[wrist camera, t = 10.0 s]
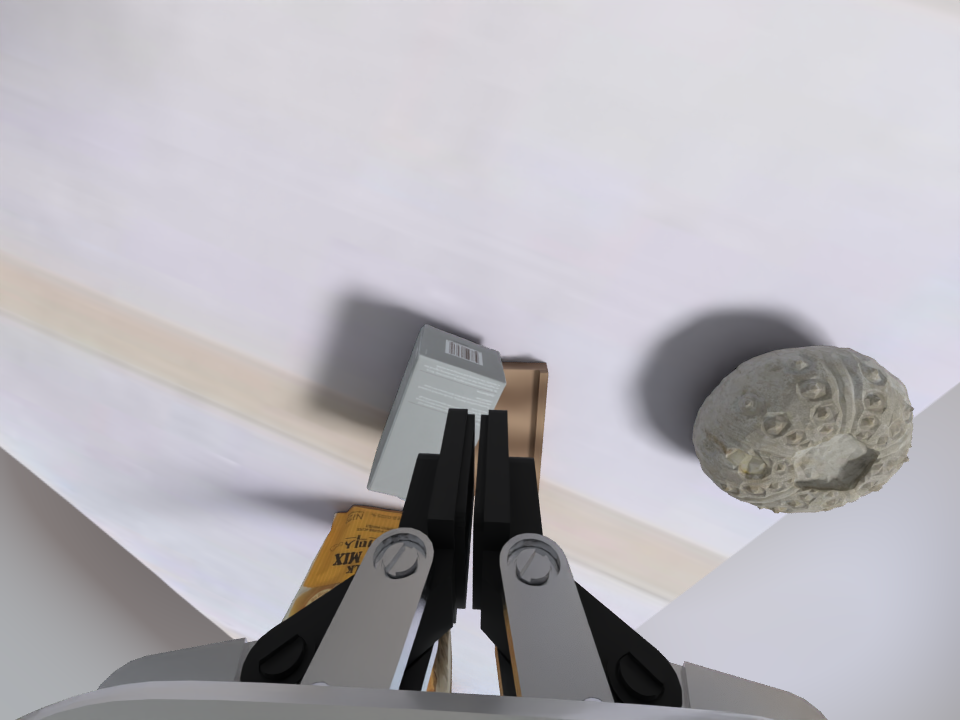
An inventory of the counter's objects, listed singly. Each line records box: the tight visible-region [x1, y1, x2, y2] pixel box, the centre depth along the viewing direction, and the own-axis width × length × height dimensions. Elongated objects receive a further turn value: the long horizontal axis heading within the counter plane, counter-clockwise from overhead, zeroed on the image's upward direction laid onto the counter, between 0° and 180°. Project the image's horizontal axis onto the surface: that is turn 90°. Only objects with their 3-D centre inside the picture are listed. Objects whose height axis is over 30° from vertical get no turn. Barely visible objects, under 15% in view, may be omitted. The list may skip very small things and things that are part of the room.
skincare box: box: [367, 324, 506, 501], centre depth 41 cm, size 8×7×16 cm
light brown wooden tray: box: [474, 362, 548, 496], centre depth 46 cm, size 17×13×2 cm
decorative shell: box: [692, 345, 914, 513], centre depth 40 cm, size 18×18×10 cm
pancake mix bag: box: [281, 505, 452, 693], centre depth 42 cm, size 7×19×28 cm, turn 81°
